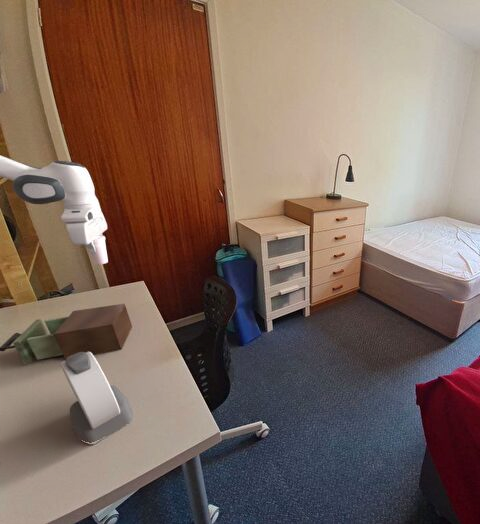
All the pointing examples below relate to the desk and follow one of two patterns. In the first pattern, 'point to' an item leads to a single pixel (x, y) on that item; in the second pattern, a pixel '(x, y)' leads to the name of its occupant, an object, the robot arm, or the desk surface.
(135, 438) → the desk surface
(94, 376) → the headphone stand
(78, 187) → the robot arm
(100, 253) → the smoothie
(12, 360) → the desk surface
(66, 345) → the cabinet
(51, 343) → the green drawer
